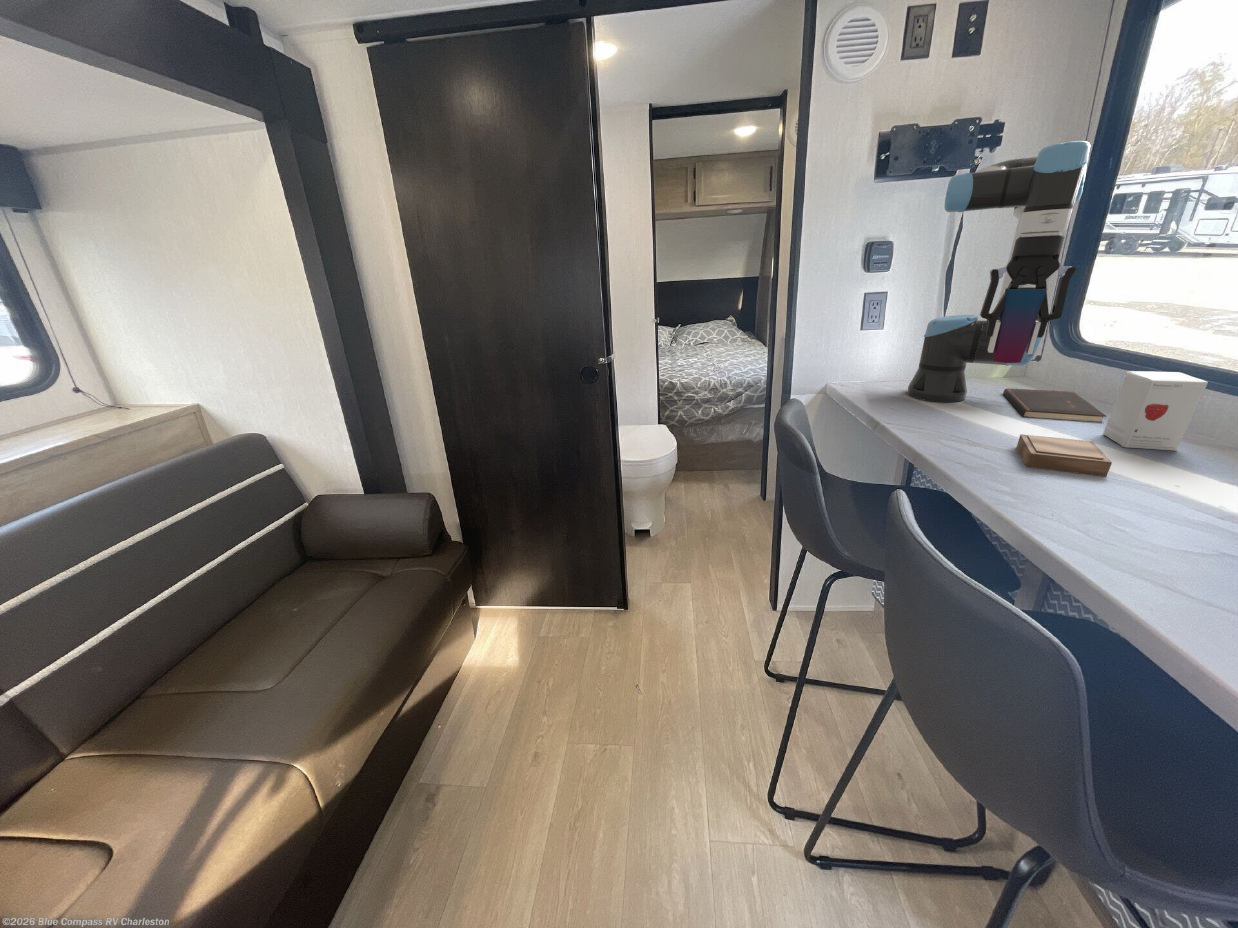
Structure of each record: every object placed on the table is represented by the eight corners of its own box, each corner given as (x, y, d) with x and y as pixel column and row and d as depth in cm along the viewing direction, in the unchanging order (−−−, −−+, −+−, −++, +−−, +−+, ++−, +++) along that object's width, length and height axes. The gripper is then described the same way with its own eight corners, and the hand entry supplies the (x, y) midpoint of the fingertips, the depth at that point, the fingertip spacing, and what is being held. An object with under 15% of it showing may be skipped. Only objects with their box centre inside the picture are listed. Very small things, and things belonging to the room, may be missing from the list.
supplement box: (1123, 448, 103) (1150, 379, 97) (1101, 434, 110) (1125, 370, 104) (1179, 451, 100) (1210, 381, 94) (1152, 437, 107) (1180, 371, 101)
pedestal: (1016, 446, 106) (1020, 433, 105) (1087, 454, 101) (1093, 439, 99) (1026, 466, 97) (1031, 452, 95) (1106, 476, 91) (1112, 460, 90)
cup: (1033, 363, 101) (1055, 288, 95) (996, 364, 102) (1016, 290, 96) (1016, 357, 107) (1035, 286, 101) (981, 358, 108) (999, 288, 102)
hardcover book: (1071, 399, 136) (1073, 391, 135) (1103, 424, 117) (1106, 415, 116) (1002, 395, 143) (1004, 388, 142) (1022, 418, 124) (1024, 410, 123)
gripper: (984, 238, 96) (957, 353, 105) (1111, 231, 87) (1070, 357, 96) (980, 238, 102) (955, 347, 111) (1099, 232, 93) (1061, 351, 102)
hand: (1009, 352), depth 104 cm, fingers closed on cup, 6 cm apart
